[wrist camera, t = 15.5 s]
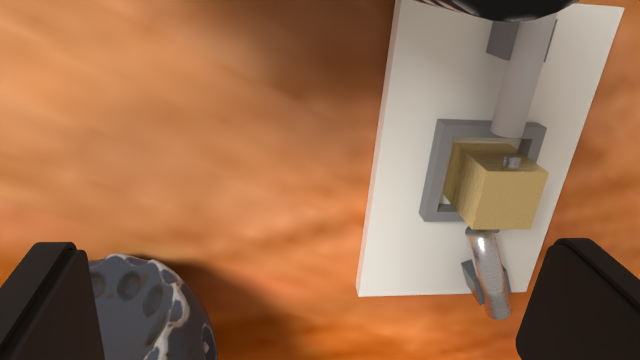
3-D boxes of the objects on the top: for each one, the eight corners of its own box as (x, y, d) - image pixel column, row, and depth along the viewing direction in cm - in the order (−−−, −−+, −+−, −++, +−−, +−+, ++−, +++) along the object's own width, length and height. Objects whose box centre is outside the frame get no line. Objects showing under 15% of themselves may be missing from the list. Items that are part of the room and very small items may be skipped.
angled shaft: (448, 219, 42) (467, 245, 38) (481, 207, 41) (503, 231, 38) (469, 295, 46) (488, 324, 42) (499, 284, 46) (520, 312, 42)
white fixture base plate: (398, -19, 33) (423, -15, 28) (613, -1, 36) (671, 5, 31) (355, 286, 46) (368, 327, 41) (518, 282, 48) (549, 320, 43)
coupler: (456, 134, 38) (489, 162, 33) (510, 135, 39) (552, 163, 33) (441, 200, 41) (469, 237, 35) (492, 201, 41) (527, 236, 36)
